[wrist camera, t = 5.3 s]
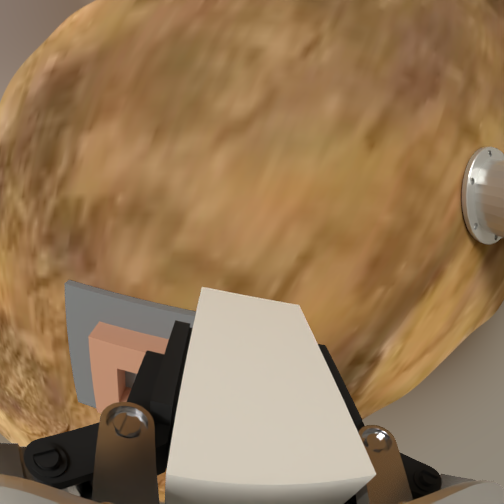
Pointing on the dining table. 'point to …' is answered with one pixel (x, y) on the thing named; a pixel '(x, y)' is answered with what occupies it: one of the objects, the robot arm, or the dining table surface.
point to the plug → (260, 412)
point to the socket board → (112, 313)
